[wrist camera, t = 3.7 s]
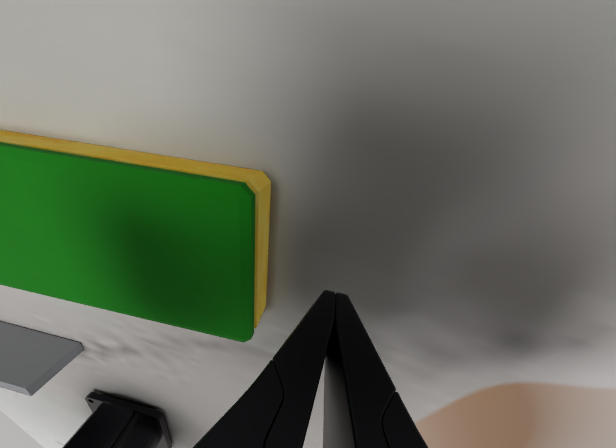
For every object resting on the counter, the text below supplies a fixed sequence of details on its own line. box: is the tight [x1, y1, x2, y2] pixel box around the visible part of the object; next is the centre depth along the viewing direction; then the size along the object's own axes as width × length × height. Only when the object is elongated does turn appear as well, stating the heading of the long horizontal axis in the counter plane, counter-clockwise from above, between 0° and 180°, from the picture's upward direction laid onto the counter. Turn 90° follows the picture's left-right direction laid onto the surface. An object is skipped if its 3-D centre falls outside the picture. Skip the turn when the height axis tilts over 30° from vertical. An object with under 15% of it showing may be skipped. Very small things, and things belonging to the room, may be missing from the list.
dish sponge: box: [0, 130, 271, 342], centre depth 10 cm, size 7×14×2 cm, turn 83°
